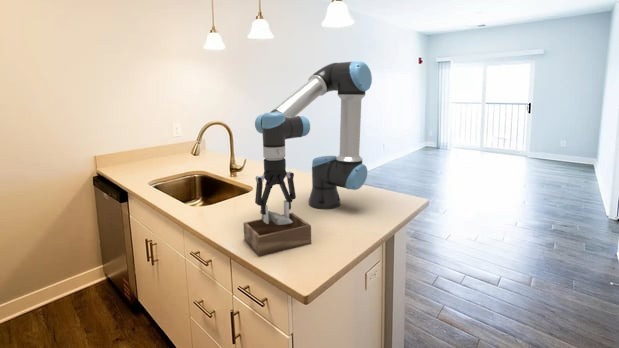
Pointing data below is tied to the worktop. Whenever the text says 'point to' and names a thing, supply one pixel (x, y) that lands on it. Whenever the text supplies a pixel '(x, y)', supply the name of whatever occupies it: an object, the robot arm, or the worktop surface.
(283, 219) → the mineral specimen
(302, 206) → the worktop surface
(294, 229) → the walnut well
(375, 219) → the worktop surface
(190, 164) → the worktop surface
